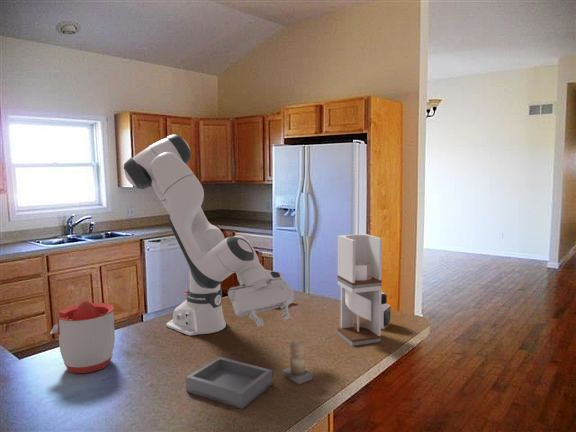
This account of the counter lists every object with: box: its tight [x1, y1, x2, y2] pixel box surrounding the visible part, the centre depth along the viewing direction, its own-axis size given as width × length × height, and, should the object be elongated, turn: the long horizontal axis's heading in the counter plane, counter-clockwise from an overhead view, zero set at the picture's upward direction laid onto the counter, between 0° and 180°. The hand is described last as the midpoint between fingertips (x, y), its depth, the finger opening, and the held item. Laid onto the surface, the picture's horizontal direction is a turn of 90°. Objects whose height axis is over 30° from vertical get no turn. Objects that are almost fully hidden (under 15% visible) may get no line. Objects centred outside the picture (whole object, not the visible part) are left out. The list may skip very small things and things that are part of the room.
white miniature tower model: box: [337, 233, 383, 347], centre depth 148 cm, size 11×11×35 cm
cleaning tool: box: [282, 339, 314, 385], centre depth 122 cm, size 7×5×10 cm
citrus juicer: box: [49, 300, 116, 374], centre depth 129 cm, size 16×17×20 cm
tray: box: [185, 356, 273, 410], centre depth 116 cm, size 18×14×4 cm
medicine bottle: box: [381, 291, 391, 330], centre depth 162 cm, size 7×7×12 cm
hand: (274, 321), depth 128 cm, fingers open, 8 cm apart
